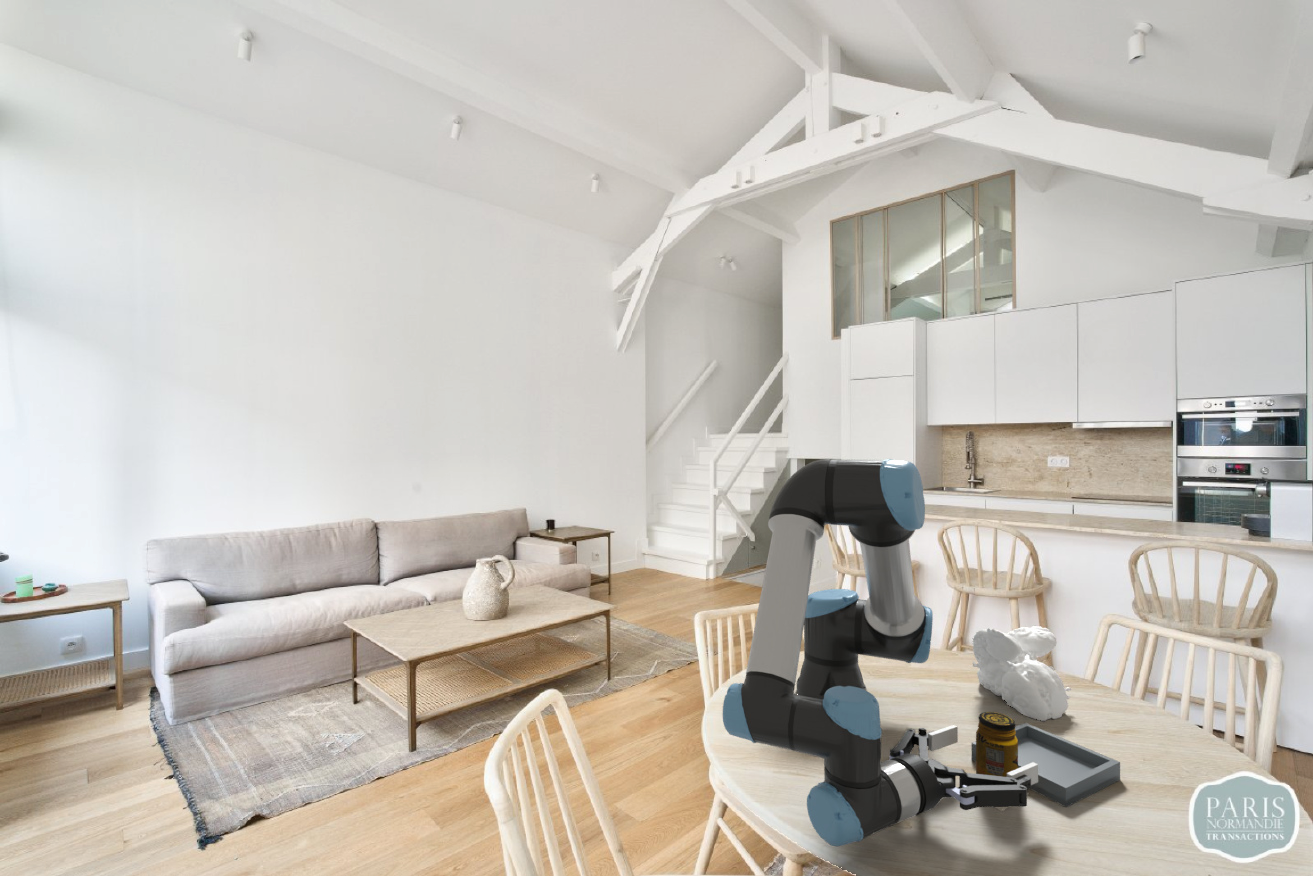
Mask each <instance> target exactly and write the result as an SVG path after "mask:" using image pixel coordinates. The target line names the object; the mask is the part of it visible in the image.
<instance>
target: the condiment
mask: <svg viewBox="0 0 1313 876" xmlns="http://www.w3.org/2000/svg"><path fill="white" fill-rule="evenodd" d="M977 718H978V725H977V727H978V728H977V730H976V732H975V741H976V761H975V774H983V775H992V776H1001V777H1007V773H1008V772H1011V771H1013V770H1016V769H1018V740H1017V738H1016V736H1015V734H1016V731H1015V726H1016V723H1015V720H1014V719H1013V718H1012V717H1009V716H1008V715H1006V714H1004V713H1000V712H997V711H996V712H995V711H985V712H981V713H980V714H979V715H978V717H977ZM1028 795H1030V792H1029V791H1027V796H1028ZM993 808H995V809H997V810H999V811H1000V812H1004V811H1005V810H1007V809H1009V807H993Z"/></svg>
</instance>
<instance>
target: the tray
mask: <svg viewBox="0 0 1313 876" xmlns="http://www.w3.org/2000/svg"><path fill="white" fill-rule="evenodd" d="M1015 731H1016V734H1015V736H1016V738H1017V740H1018V768H1020V767H1023V766H1025V765H1027V764H1030V763H1032V762H1034V763H1036V764H1038V782H1037V783H1035V784H1033V785H1031V788H1030V789H1029V790H1031V791H1032V792H1033V791H1034V792H1035V793H1036V794H1039V795H1041V796H1043V797H1045V798H1047V799H1049V800H1051V801H1053V802H1055V803H1056V804H1059V805H1061V806H1062V807H1064V808H1067V807H1069V806H1071V805H1073V804H1075V803H1077V802H1079V801H1081V800H1083V799H1085V798H1088V797H1089V796H1091V795H1092V794H1095V793H1097V792H1099V791H1101V790H1102V789H1104V788H1107V787H1109V786H1110V785H1113V784H1115V783H1117V782H1118V781H1121V761H1118V760H1116V759H1114V758H1111V757H1109V756H1106V755H1104V754H1103V753H1100V752H1097V751H1094V750H1092V749H1089V748H1087V747H1085V746H1082V745H1080V744H1078V743H1075V742H1072V741H1070V740H1068V739H1065V738H1063V737H1061V736H1059V735H1056V734H1054V733H1052V732H1049V731H1046V730H1044V729H1041V728H1039V727H1037V726H1034V725H1033V724H1032V725H1031V724H1029V723H1028V722H1024V723H1020V724H1018V725H1015ZM971 760H972V761H974V762H976V740H974V741H972V742H971Z"/></svg>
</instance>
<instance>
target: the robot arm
mask: <svg viewBox="0 0 1313 876" xmlns="http://www.w3.org/2000/svg"><path fill="white" fill-rule="evenodd" d="M923 486H924V485H923V481H922V477H921V474H920V472H919V469H918V468H917V466H916V465H915V464H914V463H913V462H911V461H907V460H901V459H900V460H899V459H898V460H896V459H892V458H887V459H833V458H825V459H824V458H822V459H818V460H814V461H811V462H810V463H809V462H808V464H805V465H804V466H802V467H800V468H799V469H798V470H797V471H796V472H794V473H793V474H792V475H791V476H790V477H789V478H788V479H787V480H786V481H785V483H784V484H783V485H782V487H781V488H780V490H779V491H778V492H777V494H776V496H775V499H774V501H773V503H772V506H771V509H770V511H769V518H768V523H767V527H768V529H769V530H770V531H771V534H772V535H771V539H770V545H769V550H768V553H767V556H768V557H767V559H766V565H765V570H764V576H763V581H762V586H761V592H760V597H759V603H758V608H757V614H756V617H755V618H756V619H755V624H754V629H753V635H752V639H751V645H750V651H749V655H748V660H747V666H746V671H745V678H744V682H738V683H737V682H736V683H732V684H730V685H729V687H728V688H727V691H726V694H725V695H724V697H723V698H724V699H723V703H722V705H723V706H722V723H723V726H724V729H725V731H726V732H727V733H728V734H729V735H731V736H733V737H737V738H741V739H744V740H747V741H750V742H751V743H753V744H756V743H757V744H761V745H762V744H763V745H768V746H772V747H777V748H781V749H785V750H788V751H792V752H793V751H794V752H797V753H801V754H805V755H809V756H813V757H818V758H822V759H823V764H824V767H823V768H824V769H823V771H824V773H823V774H824V776H823V777H824V781H822V782H818V783H817V784H816V785H814V786H812V787H811V788H810V791H809V793H808V795H807V797H806V809H807V814H808V817H809V820H810V822H811V823H810V824H811V825H812V827H813V829H814V831H815V832H816V833H817V835H818V836H819V837H820V838H821V839H822V840H824V842H826V843H827V844H828V845H830V846H833V847H843V846H845V845H848V844H852V843H855V842H858V843H859V842H861V841H862V840H863V839H866V838H868V837H870V836H871V835H874V834H875V833H878V832H880V831H882V830H884V829H887V828H889V827H891V826H894V825H896V824H898V823H901V822H903V821H905V820H907V819H911V818H913V817H915V816H918V815H920V814H923V813H926V812H928V811H930V810H932V809H934V808H935V807H936V806H937V805H938V804H939V803H940V802H941V800H943V799H944V798H954V799H955V800H957V801H958V802H959V808H960V809H962V810H964V811H969V810H973V809H976V808H994V807H1008V808H1014V807H1017V808H1018V807H1019V808H1021V807H1027V806H1028V795H1027V792H1028V790H1031V789H1030V788H1031V785H1033V784H1035V783H1037V782H1038V764H1036V763H1034V762H1032V763H1030V764H1027V765H1025V766H1023V767H1020V768H1018V769H1016V770H1013V771H1011V772H1008V773H1007V777H1001V776H992V775H983V774H976V773H972V772H966V771H965V770H964V769H963V768H957V767H950V766H948V765H946V764H943V763H942V762H940V761H939V760H937V759H931V758H929V752H928V750H929V751H930V752H935V751H938V750H940V749H943V748H946V747H948V746H952V745H954V744H957V743H959V742H958V737H959V736H958V726H957V725H955V724H952V725H949V726H946V727H943V728H940V729H938V730H932V731H929V732H927V729H926V728H925V727H919V728H918V733H916V732H915V729H913V728H907V729H906V731H905V733H903V735H902V736H901V738H900V740H899V741H898V743H897V745H896V746H894V747H892V748H890V749H889V759H886V760H883V761H882V734H883V733H882V731H883V730H882V728H881V714H880V711H881V710H880V704H879V702H878V700H877V697H875V696H874V694H872V693H871V692H869V691H868V690H867V686H866V684H865V683H864V679H863V675H862V671H861V668H860V666H859V665H860V664H859V655H861V656H862V655H863V656H868V657H874V658H880V659H889V660H893V661H900V662H905V663H907V664H911V663H915V664H916V663H917V664H924V663H926V662H927V661H928V659H929V656H930V651H931V645H932V643H931V641H932V634H933V620H934V618H933V610H932V608H930V607H928V606H925V605H923V603H922V602H921V600H920V599H919V598H918V596H916V595H915V588H914V578H913V576H914V575H913V567H912V557H911V555H912V554H911V548H910V539H911V537H913V535H914V533H916V530H920V529H922V528H923V526H924V524H925V517H926V505H925V503H926V502H925V497H924V487H923ZM826 525H831V526H832V525H833V526H845V527H848V531H849V533H850V535H851V536H852V538H854V539H855V540H856V541H857V542H859V544H860V552H861V556H862V562H863V567H864V573H865V579H866V585H867V592H868V598H867V599H859V598H860V596H859V594H858V592H857V591H856V590H852V589H851V590H850V589H848V588H833V589H832V588H831V589H823V590H817V591H815V592H812V593H810V592H809V591H810V587H811V586H810V585H811V578H812V571H813V566H814V565H813V564H814V559H815V558H814V557H815V551H816V544H817V541H818V540H820V539H821V538H823V535H824V532H825V526H826ZM809 593H810V594H809ZM802 638H803V639H802ZM802 640H803V645H804V646H803V649H804V655H803V656H804V657H803V658H804V659H803V662H802V665H801V669H800V672H799V676H798V668H799V659H800V654H801V647H802ZM797 676H798V677H797ZM795 686H796V694H795ZM797 694H798V695H797ZM915 746H918V755H917V754H915V753H911V752H912V751H913V749H914V747H915ZM956 777H959V783H958V784H959V786H958V787H957V786H956V785H957V784H956V783H957V781H956V780H957V779H956Z"/></svg>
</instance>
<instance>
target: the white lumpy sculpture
mask: <svg viewBox="0 0 1313 876" xmlns="http://www.w3.org/2000/svg"><path fill="white" fill-rule="evenodd" d="M1057 642H1058V641H1057V637H1056V636H1055V634H1054V633H1053V632H1051V630H1050V629H1048V628H1047V627H1042V626H1041V625H1040V626H1036V625H1034V626H1030V627H1026V626H1025V627H1019V628H1014V629H1013V630H1010V631H1009V632H1007V633H1006V632H1003V631H1000V630H998V629H995V628H986V629H980V630H977V631H976V632H975V634H974V635H973V637H972V651H973V656H974V657H975V659H976V662H977V663H976V662H975V661H974V660H973V661H972V667H975V668H978V670H977V672H976V674H977V679H978V683H979V684H980V685H981V686H983V688H984V689H986V690H988V691H990V692H991V693H993V695H995V696H999V697H1001V700H1003V701H1004V700H1005V701H1006V702H1007V703H1006V702H1005V701H1004V702H1005V703H1006V705H1007V706H1008V705H1009V706H1008V707H1010V706H1011V707H1010V708H1012V707H1013V709H1015V710H1016V711H1017V712H1018V713H1019V714H1021V715H1022V714H1023V715H1022V716H1025V717H1028V718H1031V719H1034V720H1036V719H1037V720H1036V721H1040V720H1041V721H1042V722H1046V721H1048V720H1051V719H1052V720H1057V719H1059V718H1061V717H1063V714H1064V713H1065V712H1067V710H1068V708H1069V703H1068V700H1069V699H1071V696H1070V695H1069V694H1067V692H1070V691H1071V690H1072V687H1069V686H1067V687H1065V685H1064V683H1063V680H1062V678H1061V677H1060V675H1059V674H1058V672H1056V670H1055V668H1054V667H1053V666H1052V665H1049V666H1048V665H1047V664H1045V663H1044V662H1042V661H1039V660H1037V658H1038V657H1044V656H1046V655H1048V654H1049V653H1050V652H1051V651H1052V650H1054V649H1055V648H1056V646H1057Z"/></svg>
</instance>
